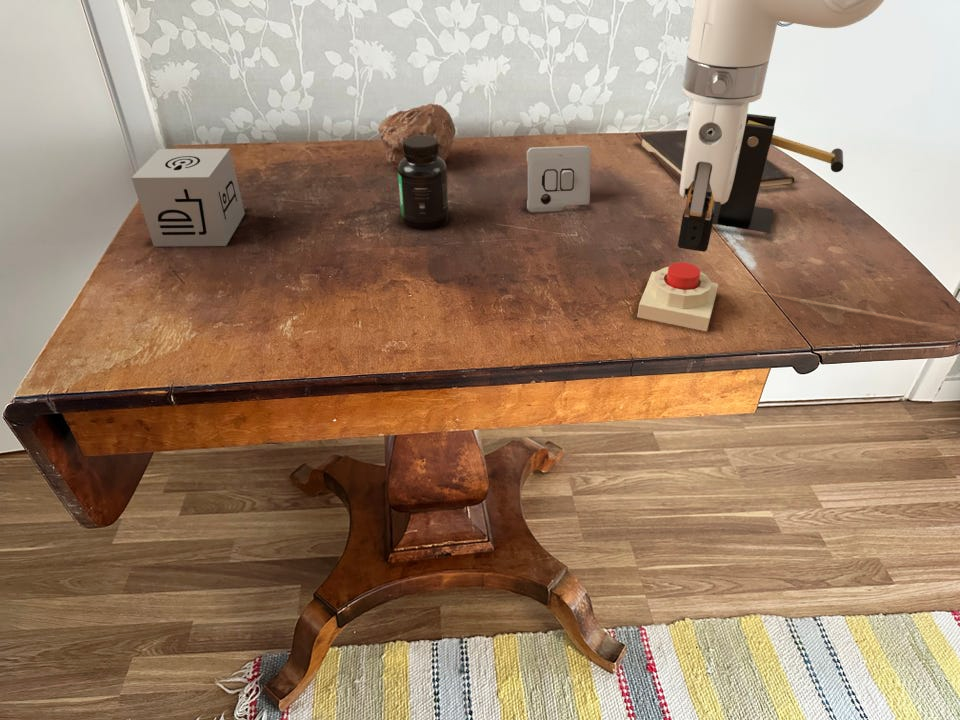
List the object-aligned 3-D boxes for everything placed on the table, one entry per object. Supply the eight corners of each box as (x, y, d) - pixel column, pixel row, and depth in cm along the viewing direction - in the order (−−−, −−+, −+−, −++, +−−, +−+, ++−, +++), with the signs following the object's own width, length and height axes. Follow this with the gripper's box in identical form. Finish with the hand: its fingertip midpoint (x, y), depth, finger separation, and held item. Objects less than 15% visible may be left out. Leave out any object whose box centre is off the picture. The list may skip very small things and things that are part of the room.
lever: (837, 163, 95) (846, 146, 93) (837, 177, 91) (847, 160, 89) (742, 133, 97) (749, 116, 95) (738, 145, 93) (746, 128, 92)
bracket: (771, 216, 104) (799, 115, 95) (767, 240, 98) (796, 135, 89) (702, 205, 107) (722, 107, 97) (694, 228, 101) (715, 125, 92)
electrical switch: (527, 214, 104) (529, 152, 99) (522, 203, 109) (524, 142, 104) (589, 212, 105) (594, 149, 100) (582, 200, 109) (586, 140, 104)
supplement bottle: (395, 229, 101) (388, 148, 93) (410, 209, 106) (404, 130, 99) (441, 234, 99) (437, 152, 92) (453, 213, 105) (451, 134, 97)
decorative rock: (448, 148, 125) (446, 91, 119) (465, 172, 117) (464, 112, 111) (375, 157, 122) (370, 98, 116) (387, 182, 114) (382, 120, 108)
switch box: (715, 298, 86) (721, 270, 83) (706, 334, 80) (713, 304, 78) (649, 286, 88) (654, 258, 86) (636, 319, 82) (641, 290, 80)
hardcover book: (699, 200, 108) (702, 186, 107) (638, 147, 126) (640, 134, 124) (792, 190, 111) (796, 176, 109) (720, 139, 129) (722, 126, 127)
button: (699, 278, 83) (702, 265, 82) (695, 293, 80) (698, 280, 79) (668, 272, 84) (671, 260, 83) (663, 287, 81) (665, 274, 80)
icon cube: (226, 246, 97) (208, 177, 91) (153, 246, 97) (131, 177, 91) (244, 213, 105) (230, 148, 99) (177, 214, 105) (158, 149, 99)
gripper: (758, 104, 61) (719, 285, 72) (770, 60, 72) (734, 223, 83) (671, 96, 64) (646, 272, 75) (695, 54, 74) (670, 214, 86)
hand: (692, 246), depth 79 cm, fingers closed
